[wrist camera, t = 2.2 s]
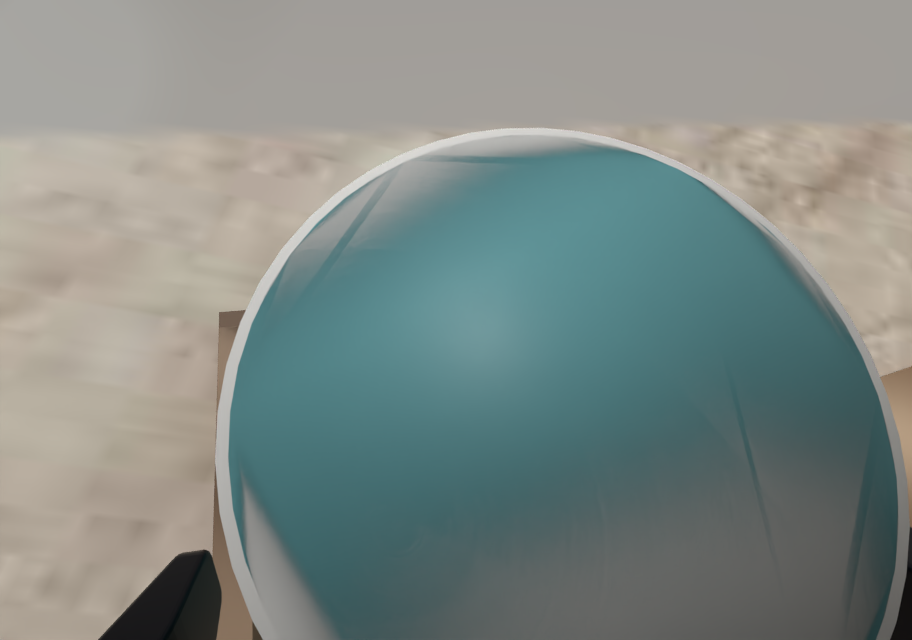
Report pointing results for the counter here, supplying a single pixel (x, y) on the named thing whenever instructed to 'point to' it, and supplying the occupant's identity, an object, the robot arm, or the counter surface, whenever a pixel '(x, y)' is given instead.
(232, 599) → the cubby
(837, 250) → the counter surface
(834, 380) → the tin
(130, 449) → the counter surface
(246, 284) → the counter surface
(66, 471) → the counter surface
